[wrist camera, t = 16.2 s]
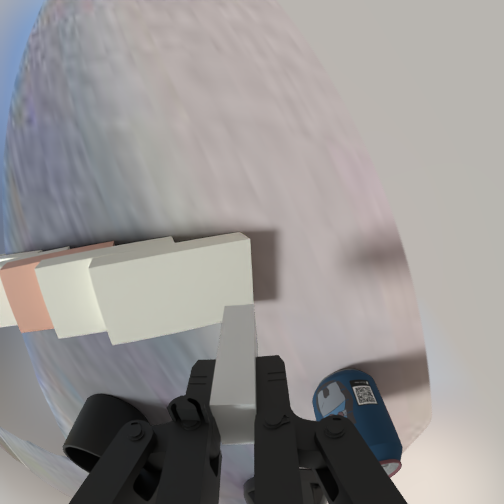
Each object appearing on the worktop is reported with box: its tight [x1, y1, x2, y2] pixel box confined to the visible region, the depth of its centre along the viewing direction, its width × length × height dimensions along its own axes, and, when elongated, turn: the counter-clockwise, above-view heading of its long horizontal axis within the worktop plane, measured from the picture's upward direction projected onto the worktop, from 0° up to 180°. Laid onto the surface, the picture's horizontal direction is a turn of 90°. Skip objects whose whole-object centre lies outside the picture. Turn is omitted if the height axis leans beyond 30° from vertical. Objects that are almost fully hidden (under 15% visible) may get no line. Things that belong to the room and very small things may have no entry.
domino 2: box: [0, 241, 115, 333], centre depth 19 cm, size 2×6×11 cm
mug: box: [63, 394, 148, 473], centre depth 26 cm, size 9×12×9 cm
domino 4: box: [88, 232, 254, 345], centre depth 19 cm, size 2×6×11 cm
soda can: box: [312, 369, 402, 477], centre depth 21 cm, size 7×7×12 cm
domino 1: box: [0, 246, 70, 327], centre depth 20 cm, size 2×6×11 cm
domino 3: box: [34, 236, 175, 338], centre depth 19 cm, size 2×6×11 cm
